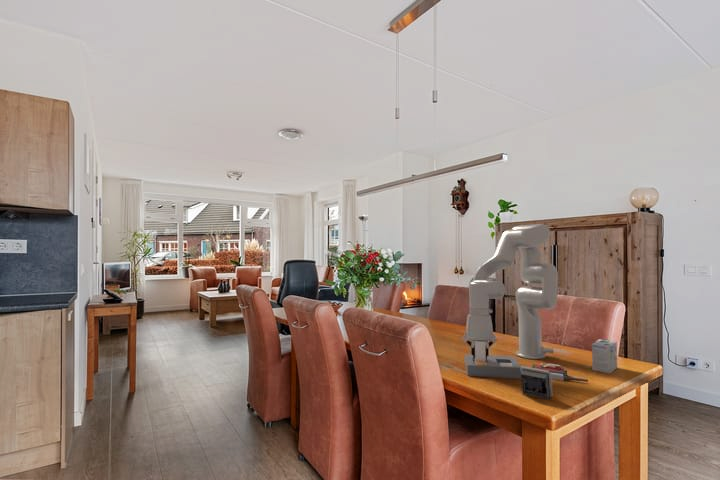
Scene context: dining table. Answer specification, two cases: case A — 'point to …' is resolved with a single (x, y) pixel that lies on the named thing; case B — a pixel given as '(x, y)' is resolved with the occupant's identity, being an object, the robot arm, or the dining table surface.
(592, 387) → the dining table surface
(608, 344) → the light bulb box
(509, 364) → the socket block
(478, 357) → the white bottle
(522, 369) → the electrical switch
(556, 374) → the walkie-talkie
